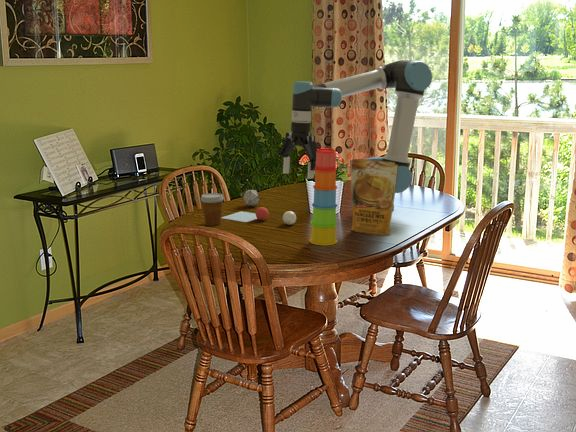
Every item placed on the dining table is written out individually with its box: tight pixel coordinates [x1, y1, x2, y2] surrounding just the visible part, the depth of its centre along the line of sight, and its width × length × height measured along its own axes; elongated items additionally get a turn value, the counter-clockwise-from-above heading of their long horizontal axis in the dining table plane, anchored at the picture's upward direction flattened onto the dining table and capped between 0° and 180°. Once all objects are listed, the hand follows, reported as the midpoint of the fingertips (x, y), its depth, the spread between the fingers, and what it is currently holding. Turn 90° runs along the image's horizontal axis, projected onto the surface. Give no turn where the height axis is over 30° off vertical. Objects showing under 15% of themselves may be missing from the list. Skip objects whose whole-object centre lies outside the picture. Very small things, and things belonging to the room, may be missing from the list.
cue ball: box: [282, 210, 297, 225], centre depth 288 cm, size 6×6×6 cm
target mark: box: [221, 210, 259, 223], centre depth 302 cm, size 14×14×1 cm
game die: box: [241, 188, 262, 208], centre depth 321 cm, size 9×8×10 cm
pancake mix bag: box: [349, 158, 398, 237], centre depth 271 cm, size 7×19×28 cm, turn 58°
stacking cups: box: [309, 147, 338, 247], centre depth 258 cm, size 10×10×35 cm
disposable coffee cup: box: [200, 192, 225, 227], centre depth 290 cm, size 10×10×12 cm
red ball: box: [254, 206, 270, 221], centre depth 296 cm, size 6×6×6 cm
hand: (298, 176), depth 280 cm, fingers open, 13 cm apart
